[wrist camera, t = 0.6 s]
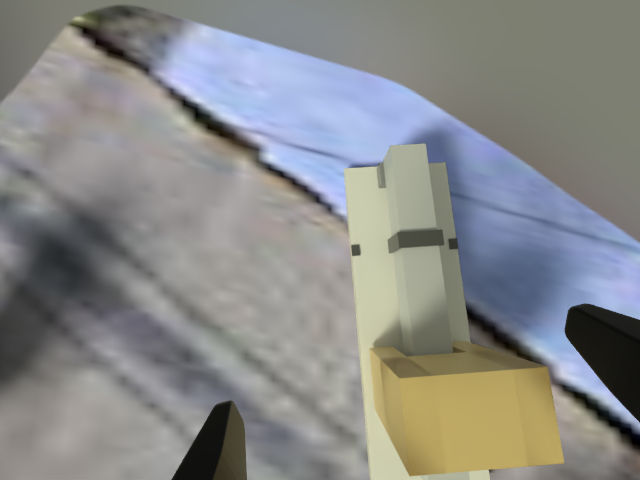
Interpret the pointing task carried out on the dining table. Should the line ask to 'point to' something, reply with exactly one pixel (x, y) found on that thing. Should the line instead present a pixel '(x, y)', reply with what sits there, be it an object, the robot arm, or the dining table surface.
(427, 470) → the sleeve
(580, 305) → the robot arm
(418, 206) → the pipe stand
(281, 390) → the dining table surface
